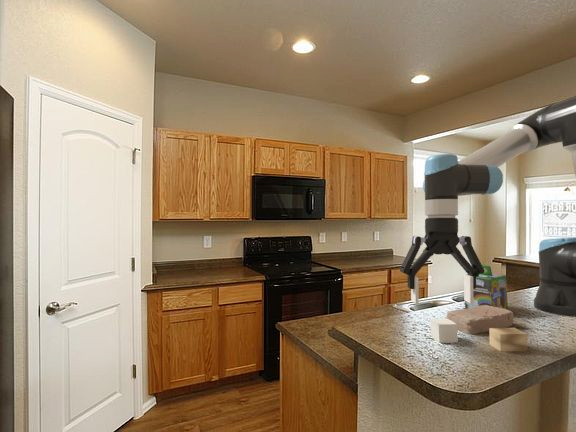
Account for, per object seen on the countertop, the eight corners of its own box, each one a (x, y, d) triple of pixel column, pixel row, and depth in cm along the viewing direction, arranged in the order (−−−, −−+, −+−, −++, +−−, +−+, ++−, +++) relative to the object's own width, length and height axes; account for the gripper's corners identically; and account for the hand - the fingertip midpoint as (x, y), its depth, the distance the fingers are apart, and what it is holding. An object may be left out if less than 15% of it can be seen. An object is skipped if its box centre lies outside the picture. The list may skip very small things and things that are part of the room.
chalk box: (508, 311, 103) (507, 265, 103) (492, 315, 99) (491, 267, 99) (479, 304, 111) (478, 261, 111) (463, 308, 107) (462, 264, 107)
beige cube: (448, 336, 83) (447, 318, 83) (457, 342, 78) (457, 324, 78) (430, 336, 83) (430, 318, 83) (439, 343, 78) (438, 324, 78)
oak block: (514, 344, 77) (514, 327, 77) (527, 351, 73) (526, 333, 73) (489, 345, 77) (489, 328, 77) (500, 352, 73) (500, 334, 73)
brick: (470, 336, 83) (470, 318, 83) (444, 326, 91) (444, 309, 91) (515, 328, 89) (514, 311, 89) (486, 319, 96) (486, 303, 96)
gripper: (481, 217, 85) (481, 297, 84) (386, 217, 84) (387, 298, 84) (500, 216, 77) (501, 305, 77) (397, 216, 77) (397, 306, 77)
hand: (441, 302), depth 81 cm, fingers open, 13 cm apart
